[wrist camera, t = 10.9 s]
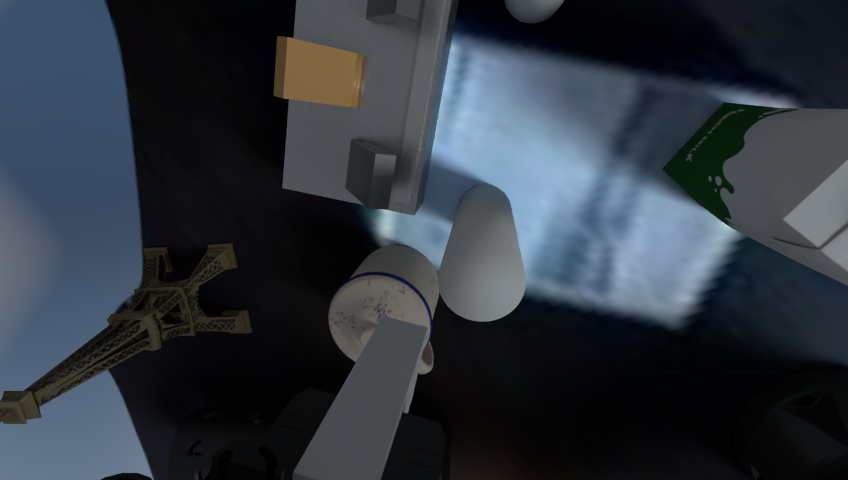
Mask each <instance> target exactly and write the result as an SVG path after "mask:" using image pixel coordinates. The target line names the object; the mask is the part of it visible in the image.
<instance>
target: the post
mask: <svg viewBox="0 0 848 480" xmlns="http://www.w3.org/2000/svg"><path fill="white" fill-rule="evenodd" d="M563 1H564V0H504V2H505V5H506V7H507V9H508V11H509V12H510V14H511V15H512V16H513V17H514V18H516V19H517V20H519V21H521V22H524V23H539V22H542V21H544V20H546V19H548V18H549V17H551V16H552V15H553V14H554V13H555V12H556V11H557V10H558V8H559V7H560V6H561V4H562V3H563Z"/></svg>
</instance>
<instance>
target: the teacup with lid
mask: <svg viewBox="0 0 848 480" xmlns="http://www.w3.org/2000/svg"><path fill="white" fill-rule="evenodd" d="M438 296H439V287H438V275H437V272H436V270H435V268H434V266H433V265H432V263H431V262H430V261H429V260H428V259H427V258H426V257H425V256H424V255H423V254H421V253H420V252H418V251H416V250H414V249H412V248H409V247H405V246H399V245H393V246H386V247H382V248H380V249H378V250H376V251H374V252H372V253H371V254H370V255H369V256H368V257H367V258H366V259H365V260H364V261H363V262H362V264H361V265H360V266H359V267H358V269H357V270H356V271H355V272H354V274H353V275H352V276H351V277H350V279H348V280H347V281H345V282H344V283H343V284H342V285H341V286H340V287H339V288H338V289H337V290H336V292H335V294H334V295H333V297H332V300H331V302H330V306H329V316H328V320H329V327H330V331H331V334H332V336H333V339H334V340H335V342H336V344H337V345H338V347H339V348H340V349H341V350H342V352H343V353H344V354H345V355H347V356H348V357H349V358H350V359H352V360H353V361H355V362H357V360H358V358H359V356H360V355H361V353H362V351H363V349H364V348H365V346H366V344H367V342H368V341H369V339H370V337H371V335H372V334H373V332H374V330H375V328H376V327H377V325H378V323H379V321H380V320H381V318H382V316H386V317H390V318H394V319H397V320H401V321H405V322H409V323H413V324H417V325H421V326H425V327H428V330H427V334H426V339H425V343H424V348H423V352H422V357H421V361H420V366H419V370H418V373H419V374H425V373H428V372H430V371H431V370H432V368H433V363H434V358H433V351H432V347H431V344H430V338H431V334H432V327H433V323H432V319H433V315H434V312H435V308H436V304H437V300H438Z"/></svg>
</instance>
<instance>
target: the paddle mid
mask: <svg viewBox="0 0 848 480" xmlns="http://www.w3.org/2000/svg"><path fill="white" fill-rule="evenodd" d="M363 56H364V55H362V54H358V53H354V52H350V51H346V50H341V49H337V48H333V47H328V46H324V45H320V44H315V43H311V42H307V41H302V40H298V39H293V38H289V37H280V36H277V50H276V66H275V81H274V96H277V97H280V98H284V99H292V100H299V101H307V102H315V103H322V104H330V105H337V106H345V107H354V108H357V105H358V97H359V89H360V80H361V72H362V64H363Z"/></svg>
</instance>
